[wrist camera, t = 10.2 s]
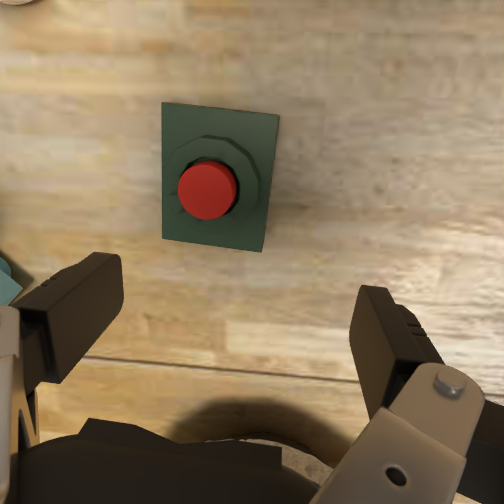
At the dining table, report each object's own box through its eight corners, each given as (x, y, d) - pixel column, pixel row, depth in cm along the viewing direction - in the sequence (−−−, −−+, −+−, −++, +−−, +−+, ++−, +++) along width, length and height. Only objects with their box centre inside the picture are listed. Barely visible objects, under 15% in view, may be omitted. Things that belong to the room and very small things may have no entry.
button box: (171, 102, 25) (151, 101, 21) (279, 114, 24) (277, 116, 21) (171, 229, 29) (153, 247, 25) (263, 242, 28) (259, 262, 25)
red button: (185, 157, 23) (178, 161, 21) (238, 164, 22) (234, 168, 21) (184, 208, 24) (177, 216, 23) (234, 215, 24) (230, 223, 22)
